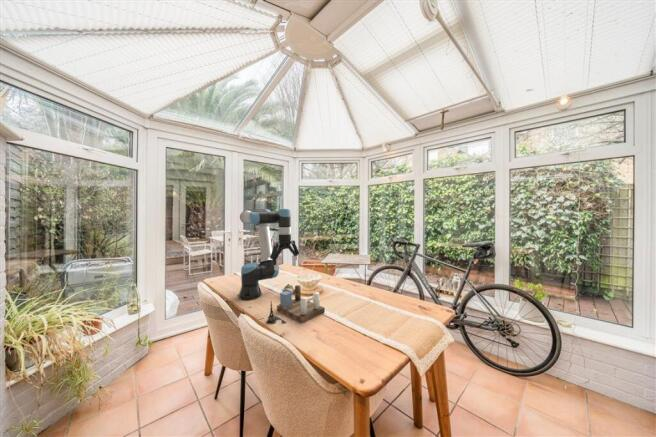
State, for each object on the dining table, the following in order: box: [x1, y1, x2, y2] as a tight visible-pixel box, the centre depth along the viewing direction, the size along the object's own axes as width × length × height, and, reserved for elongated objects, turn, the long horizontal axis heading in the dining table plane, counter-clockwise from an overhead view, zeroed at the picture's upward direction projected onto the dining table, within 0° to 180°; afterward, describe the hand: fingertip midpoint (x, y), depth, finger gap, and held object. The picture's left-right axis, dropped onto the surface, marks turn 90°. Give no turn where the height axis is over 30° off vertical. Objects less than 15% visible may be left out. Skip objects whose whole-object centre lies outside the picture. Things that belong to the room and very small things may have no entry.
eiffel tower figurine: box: [258, 300, 288, 325], centre depth 134 cm, size 15×10×13 cm
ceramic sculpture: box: [282, 283, 295, 295], centre depth 173 cm, size 11×9×15 cm
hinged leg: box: [301, 291, 320, 315], centre depth 140 cm, size 14×4×9 cm, turn 137°
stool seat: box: [276, 284, 326, 324], centre depth 146 cm, size 24×18×12 cm
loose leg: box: [279, 291, 293, 308], centre depth 148 cm, size 5×5×11 cm
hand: (285, 267), depth 147 cm, fingers open, 13 cm apart
